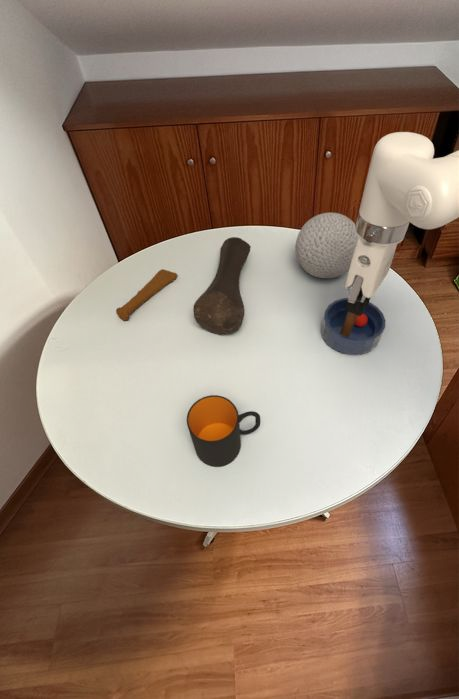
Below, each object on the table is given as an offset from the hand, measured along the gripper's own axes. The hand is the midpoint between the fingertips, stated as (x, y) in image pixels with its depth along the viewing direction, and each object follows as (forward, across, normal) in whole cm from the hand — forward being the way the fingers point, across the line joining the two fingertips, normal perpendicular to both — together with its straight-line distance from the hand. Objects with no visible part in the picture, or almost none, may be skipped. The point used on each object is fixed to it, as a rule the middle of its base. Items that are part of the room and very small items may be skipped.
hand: (356, 307), depth 71 cm
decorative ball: (+10, +18, +14) cm, 25 cm away
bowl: (+10, +2, 0) cm, 10 cm away
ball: (+9, +5, 0) cm, 11 cm away
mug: (+10, -33, +8) cm, 36 cm away
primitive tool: (+10, -12, +47) cm, 50 cm away
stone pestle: (+10, -2, +30) cm, 32 cm away
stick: (+9, 0, +1) cm, 9 cm away
